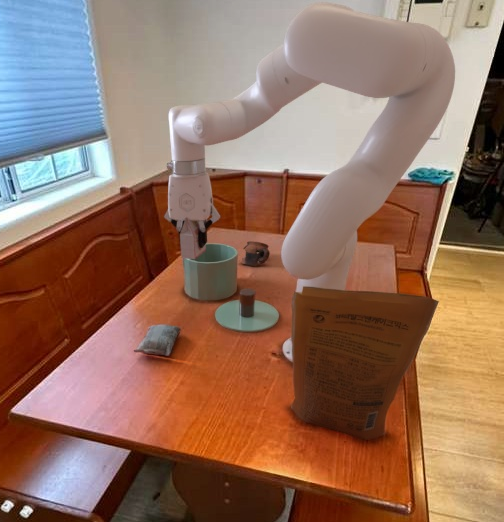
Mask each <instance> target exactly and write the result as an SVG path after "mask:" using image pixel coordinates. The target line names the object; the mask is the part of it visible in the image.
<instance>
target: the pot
mask: <svg viewBox="0 0 504 522" xmlns="http://www.w3.org/2000/svg"><path fill="white" fill-rule="evenodd" d="M238 255H239V251H238V249H236V247H234V246H231V245H229V244H224V243H217V242H211V243H206V251H204V252H203V253H202V254H201V255H199V256H198V257H197V258H196V259H187V258H182V269H183V286H184V288H183V289H184V292H185V294H186V295H187V296H189V298H193V299H196V300H199V301H219V300H224V299H228V298H230V297H231V296H234V294H235V293H236V292H237V290H238V264H239V263H238V259H239V258H238V257H239V256H238Z"/></svg>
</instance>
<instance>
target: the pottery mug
mask: <svg viewBox="0 0 504 522" xmlns="http://www.w3.org/2000/svg"><path fill="white" fill-rule="evenodd" d="M242 249H243V250H244V251H245V256H243V257H242V258H241V264H242V265H248V266H251V267H258V263H259V264H260V265H263V264H265V262H266V261H267V260H268V259H269V258H270V255H271V254H270V253H271V252H270V250H269V245H268V244H266V243H264V242H261V241H250V240H249V241H247V242H246V245H245V246H243V248H242Z"/></svg>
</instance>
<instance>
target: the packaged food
mask: <svg viewBox="0 0 504 522" xmlns="http://www.w3.org/2000/svg"><path fill="white" fill-rule="evenodd" d="M181 330H182V329H181V327H179V326H176V325H170V324H153V325H150V326H148V327H147V331H146V334H144V337H143V338H142V340H141V342H140V343H139V344H138V345H137V347H136V348H135V349H133V352H134V353H141V354H148V355H157V356H160V355H161V356H165V357H170V356H171V354H172V352H173V349H174V345H175V344H176V342H177V340H178V338H179V336H180V334H181Z"/></svg>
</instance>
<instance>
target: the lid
mask: <svg viewBox="0 0 504 522" xmlns="http://www.w3.org/2000/svg"><path fill="white" fill-rule="evenodd" d="M214 318H215V321H216V322H217V324H218V325H220V326H221V327H223V328H226V329H227V330H229V331H232V332H233V331H234V332H239V333H258V332H263V331H266V330H269V329H271V328H273V327H274V326H275V325H277V323H278V322H279V319H280V313H279V311H278V310H277V308H276V307H274V306H273V305H271V304H270V303H267V302H264V301H262V300H256V290H255V289H252V288H243V289H240V290H239V299H235V300H231V301H228V302H224V303H223V304H221V305H220V306H218V307H217V308H216V309H215V313H214Z"/></svg>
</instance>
